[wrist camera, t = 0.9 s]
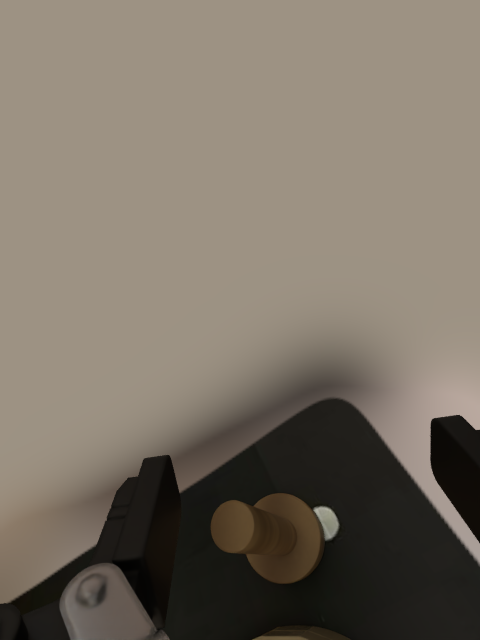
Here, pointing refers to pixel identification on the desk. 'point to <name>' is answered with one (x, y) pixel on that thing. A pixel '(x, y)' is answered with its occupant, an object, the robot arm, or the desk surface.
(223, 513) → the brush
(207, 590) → the desk surface
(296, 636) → the bowl
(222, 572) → the desk surface
